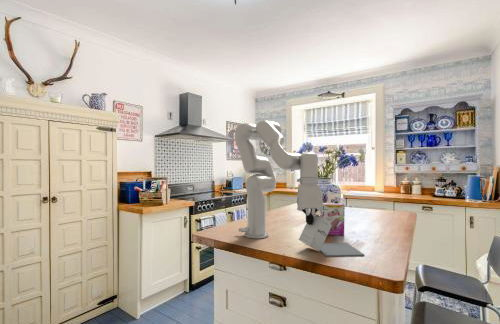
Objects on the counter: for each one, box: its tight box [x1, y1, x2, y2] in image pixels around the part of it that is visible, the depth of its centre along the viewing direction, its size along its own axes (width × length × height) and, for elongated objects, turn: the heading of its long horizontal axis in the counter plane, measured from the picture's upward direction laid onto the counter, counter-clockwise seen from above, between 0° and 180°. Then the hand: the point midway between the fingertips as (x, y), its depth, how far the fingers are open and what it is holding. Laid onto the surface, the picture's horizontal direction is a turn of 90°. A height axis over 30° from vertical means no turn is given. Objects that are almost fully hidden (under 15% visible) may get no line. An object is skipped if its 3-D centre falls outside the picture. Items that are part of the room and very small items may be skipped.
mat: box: [319, 242, 365, 258], centre depth 112 cm, size 16×16×1 cm
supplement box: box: [298, 215, 332, 252], centre depth 113 cm, size 7×7×13 cm
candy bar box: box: [321, 202, 346, 237], centre depth 138 cm, size 11×5×16 cm, turn 84°
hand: (309, 224), depth 111 cm, fingers closed
